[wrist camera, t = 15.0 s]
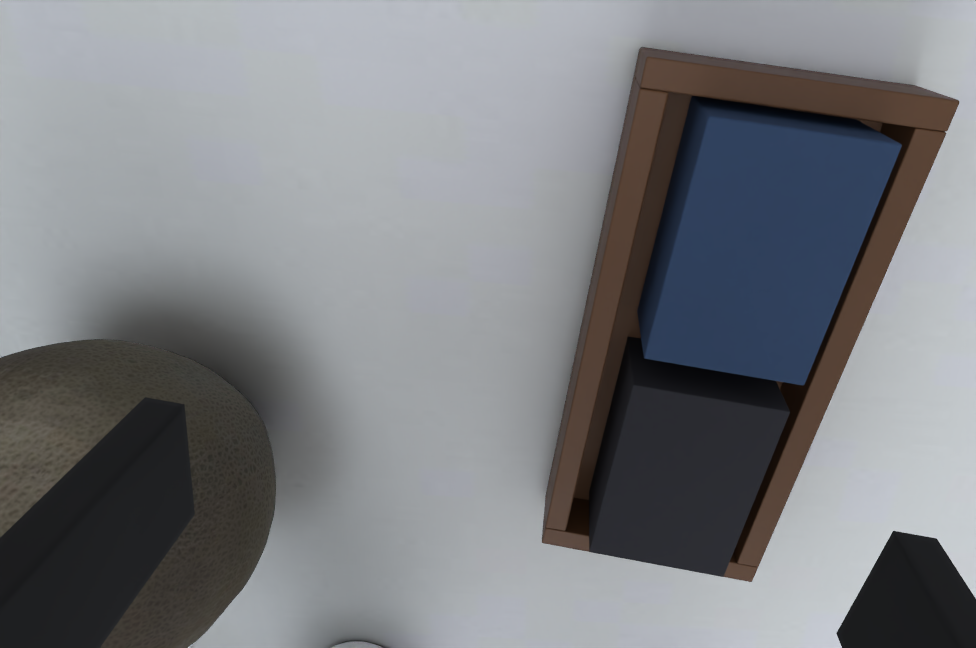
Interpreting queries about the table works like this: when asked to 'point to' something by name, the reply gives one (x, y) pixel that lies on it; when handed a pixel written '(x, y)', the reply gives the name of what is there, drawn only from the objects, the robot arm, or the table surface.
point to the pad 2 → (681, 462)
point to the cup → (356, 645)
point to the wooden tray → (631, 238)
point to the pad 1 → (759, 237)
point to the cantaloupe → (213, 461)
